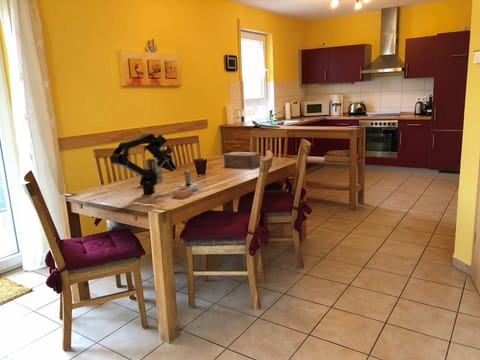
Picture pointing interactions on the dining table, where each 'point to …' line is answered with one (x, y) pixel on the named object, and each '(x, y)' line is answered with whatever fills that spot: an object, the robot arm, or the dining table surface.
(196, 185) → the socket block
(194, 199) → the dining table surface
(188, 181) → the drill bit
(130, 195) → the dining table surface
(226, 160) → the tissue box cover
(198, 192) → the tool board
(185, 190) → the rack block
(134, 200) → the dining table surface
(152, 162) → the coffee box
